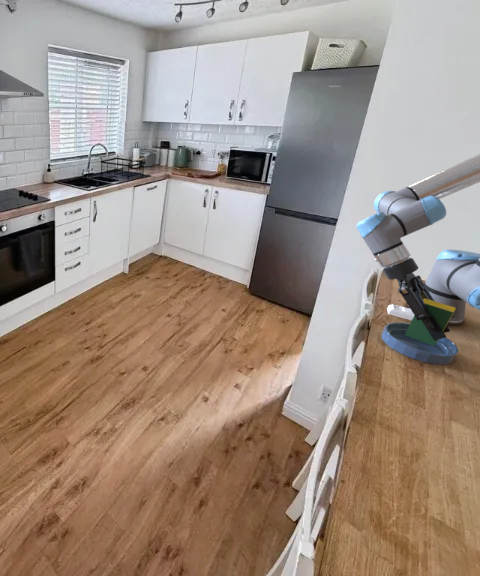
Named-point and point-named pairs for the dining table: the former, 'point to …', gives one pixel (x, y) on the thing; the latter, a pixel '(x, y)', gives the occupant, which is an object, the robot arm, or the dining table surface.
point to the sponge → (440, 314)
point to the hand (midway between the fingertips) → (442, 335)
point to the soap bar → (400, 312)
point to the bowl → (418, 345)
